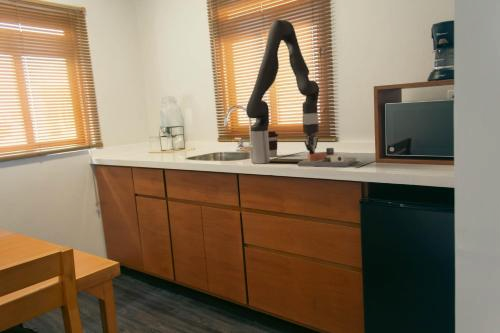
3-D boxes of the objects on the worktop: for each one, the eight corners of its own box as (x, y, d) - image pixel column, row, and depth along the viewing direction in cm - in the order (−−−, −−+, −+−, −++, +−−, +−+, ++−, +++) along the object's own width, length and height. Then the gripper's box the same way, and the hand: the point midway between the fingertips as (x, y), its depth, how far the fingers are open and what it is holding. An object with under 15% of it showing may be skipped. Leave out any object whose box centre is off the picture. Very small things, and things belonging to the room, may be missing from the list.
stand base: (298, 166, 193) (297, 156, 192) (310, 161, 208) (310, 151, 207) (346, 166, 181) (346, 156, 181) (356, 161, 196) (356, 151, 195)
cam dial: (314, 162, 186) (313, 151, 185) (304, 160, 193) (303, 150, 192) (342, 157, 194) (341, 147, 193) (331, 156, 200) (330, 146, 200)
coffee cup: (282, 155, 239) (281, 130, 237) (272, 157, 232) (270, 132, 230) (269, 155, 246) (268, 131, 244) (259, 157, 239) (257, 132, 237)
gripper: (308, 122, 198) (309, 156, 201) (298, 124, 187) (299, 160, 189) (322, 121, 194) (323, 156, 197) (313, 123, 183) (314, 160, 185)
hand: (312, 158), depth 193 cm, fingers closed
